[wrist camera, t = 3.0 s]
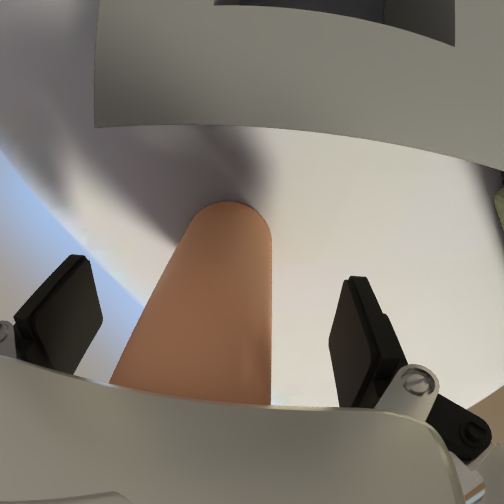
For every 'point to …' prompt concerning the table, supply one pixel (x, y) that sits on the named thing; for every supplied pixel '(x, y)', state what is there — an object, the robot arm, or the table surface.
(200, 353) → the peg
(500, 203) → the handheld radio
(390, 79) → the socket block
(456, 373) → the table surface
